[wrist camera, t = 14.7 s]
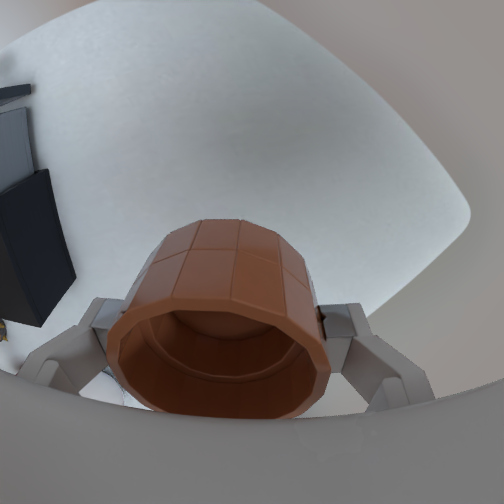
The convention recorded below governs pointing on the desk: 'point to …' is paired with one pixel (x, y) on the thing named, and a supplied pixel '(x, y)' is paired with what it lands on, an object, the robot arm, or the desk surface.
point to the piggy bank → (103, 390)
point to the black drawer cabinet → (32, 252)
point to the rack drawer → (14, 140)
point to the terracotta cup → (222, 326)
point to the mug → (2, 331)
